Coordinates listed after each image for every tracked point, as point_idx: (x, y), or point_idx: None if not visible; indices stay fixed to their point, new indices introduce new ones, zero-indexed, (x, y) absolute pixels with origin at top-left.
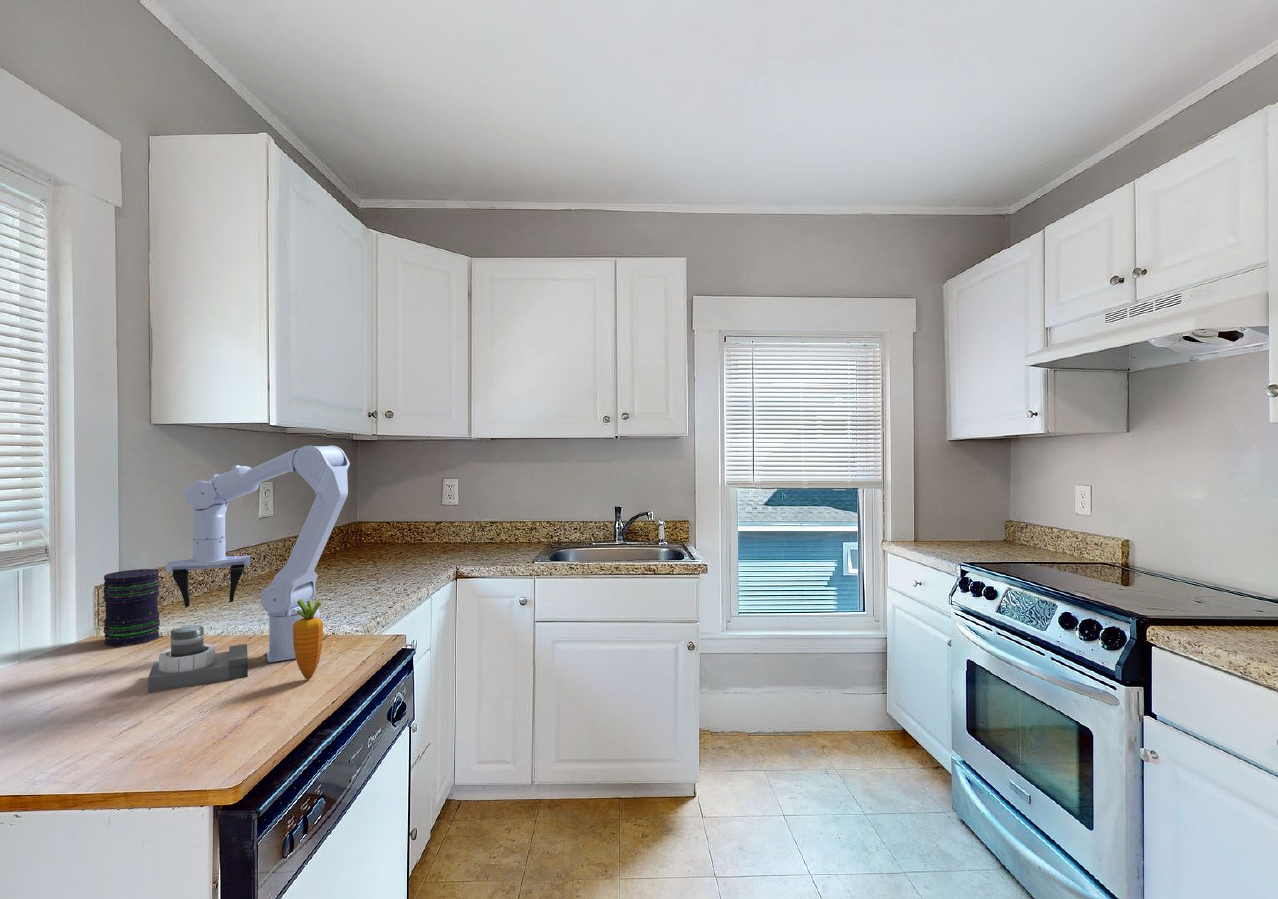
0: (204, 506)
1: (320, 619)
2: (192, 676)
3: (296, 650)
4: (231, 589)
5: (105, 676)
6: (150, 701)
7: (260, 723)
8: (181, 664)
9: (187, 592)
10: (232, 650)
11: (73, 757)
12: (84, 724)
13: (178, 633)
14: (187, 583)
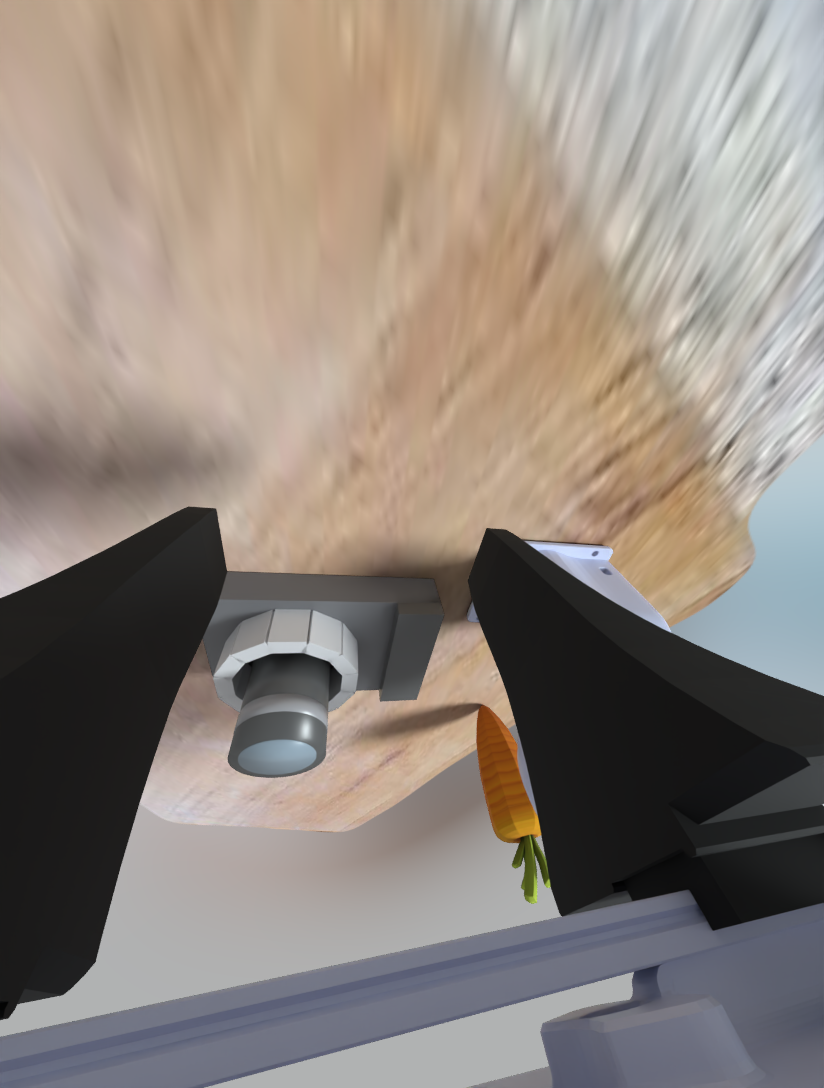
0: None
1: None
2: None
3: (480, 772)
4: (504, 666)
5: (26, 499)
6: None
7: (388, 777)
8: None
9: (178, 686)
10: (399, 648)
11: (196, 792)
12: (161, 737)
13: (257, 776)
14: (132, 783)
